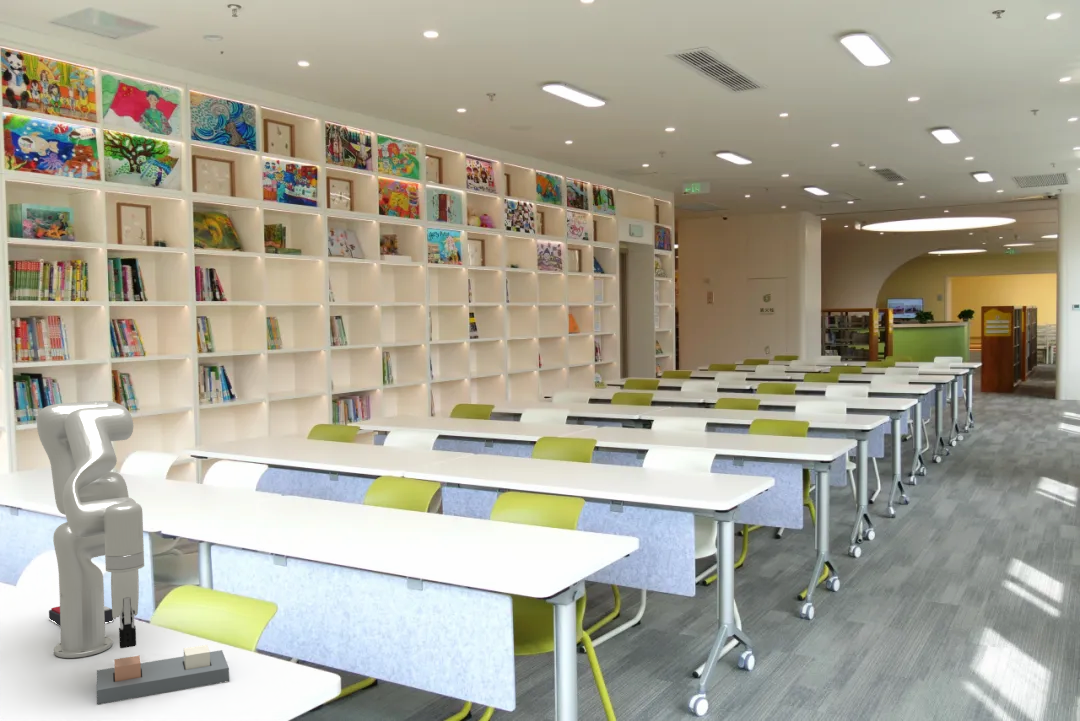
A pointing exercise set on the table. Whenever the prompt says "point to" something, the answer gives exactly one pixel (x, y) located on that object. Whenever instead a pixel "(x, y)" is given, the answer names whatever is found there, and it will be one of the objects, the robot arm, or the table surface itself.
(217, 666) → the key panel
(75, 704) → the table surface
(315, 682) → the table surface
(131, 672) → the terracotta key
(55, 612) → the calculator
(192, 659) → the cream key
